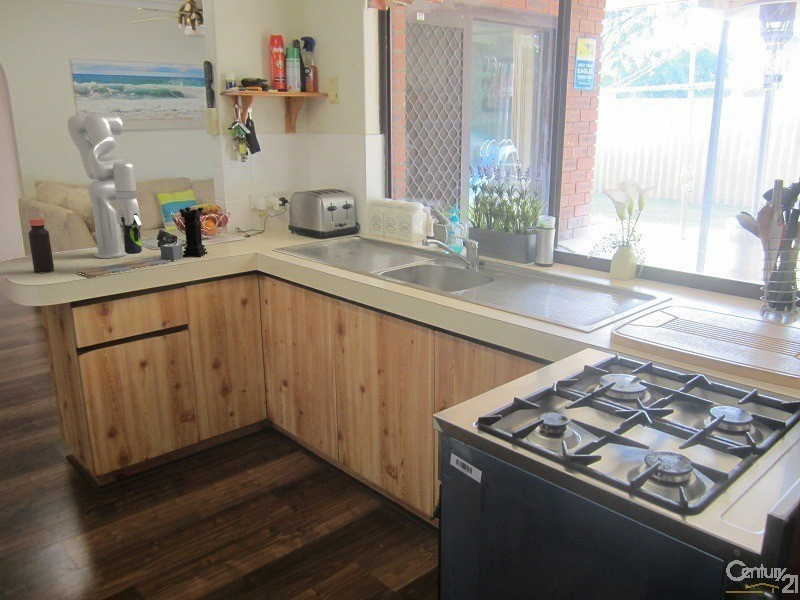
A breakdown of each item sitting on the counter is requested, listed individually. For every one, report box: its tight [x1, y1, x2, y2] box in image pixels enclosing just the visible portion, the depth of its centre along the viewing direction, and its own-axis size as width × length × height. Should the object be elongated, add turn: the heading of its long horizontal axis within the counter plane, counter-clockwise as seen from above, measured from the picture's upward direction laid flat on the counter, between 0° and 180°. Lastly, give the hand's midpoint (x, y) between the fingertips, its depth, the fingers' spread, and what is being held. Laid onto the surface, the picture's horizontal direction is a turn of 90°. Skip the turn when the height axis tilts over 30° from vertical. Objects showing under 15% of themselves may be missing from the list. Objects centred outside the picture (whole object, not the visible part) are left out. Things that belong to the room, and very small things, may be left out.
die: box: [160, 243, 184, 262], centre depth 267 cm, size 6×6×6 cm
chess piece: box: [179, 206, 209, 258], centre depth 273 cm, size 8×8×20 cm
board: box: [77, 257, 170, 278], centre depth 251 cm, size 10×32×1 cm, turn 142°
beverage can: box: [121, 215, 143, 255], centre depth 251 cm, size 6×6×15 cm
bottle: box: [27, 217, 55, 273], centre depth 244 cm, size 7×7×20 cm
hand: (131, 241), depth 252 cm, fingers closed on beverage can, 4 cm apart
